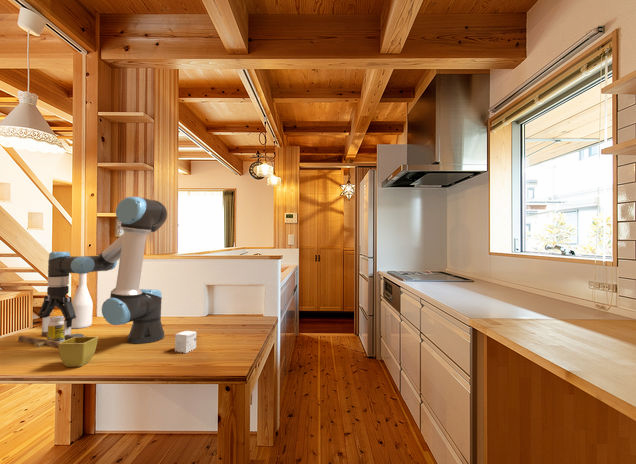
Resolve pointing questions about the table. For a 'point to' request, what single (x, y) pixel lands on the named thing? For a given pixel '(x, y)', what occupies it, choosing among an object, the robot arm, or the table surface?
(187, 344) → the skincare box
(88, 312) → the wine bottle
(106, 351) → the table surface
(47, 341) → the forked driftwood branch
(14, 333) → the table surface
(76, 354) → the flower pot
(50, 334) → the pill bottle
